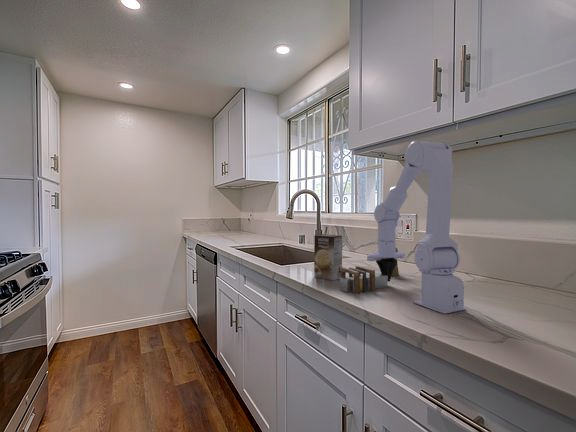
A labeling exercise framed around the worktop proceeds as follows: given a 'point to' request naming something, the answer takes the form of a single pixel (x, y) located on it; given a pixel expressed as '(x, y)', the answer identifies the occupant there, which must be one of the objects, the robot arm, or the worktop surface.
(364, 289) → the wooden slatted rack
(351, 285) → the tube
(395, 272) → the cork
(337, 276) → the coffee box
